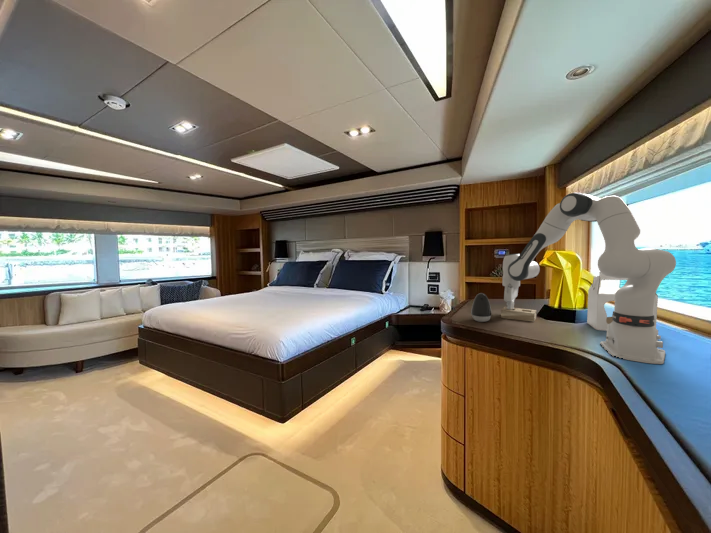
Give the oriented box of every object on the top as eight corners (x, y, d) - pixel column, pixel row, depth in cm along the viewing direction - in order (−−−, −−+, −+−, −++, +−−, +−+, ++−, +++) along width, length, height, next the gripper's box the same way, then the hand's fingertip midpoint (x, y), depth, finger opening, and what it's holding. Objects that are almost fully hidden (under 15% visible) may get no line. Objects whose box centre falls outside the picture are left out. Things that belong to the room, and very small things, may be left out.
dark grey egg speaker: (471, 322, 160) (472, 294, 159) (470, 318, 170) (470, 291, 169) (492, 323, 157) (493, 295, 156) (490, 319, 167) (490, 291, 166)
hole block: (534, 321, 159) (534, 313, 159) (501, 317, 169) (501, 309, 168) (536, 318, 166) (536, 310, 166) (504, 314, 176) (504, 306, 176)
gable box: (642, 326, 147) (645, 269, 144) (656, 334, 134) (660, 272, 132) (586, 323, 155) (588, 268, 153) (595, 330, 143) (597, 271, 141)
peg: (512, 317, 168) (513, 300, 167) (507, 317, 170) (507, 299, 169) (513, 316, 170) (514, 299, 170) (508, 316, 172) (508, 298, 171)
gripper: (514, 285, 158) (513, 311, 159) (520, 281, 175) (519, 304, 176) (501, 284, 162) (500, 310, 163) (508, 280, 178) (507, 303, 179)
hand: (510, 307), depth 170 cm, fingers open, 8 cm apart
